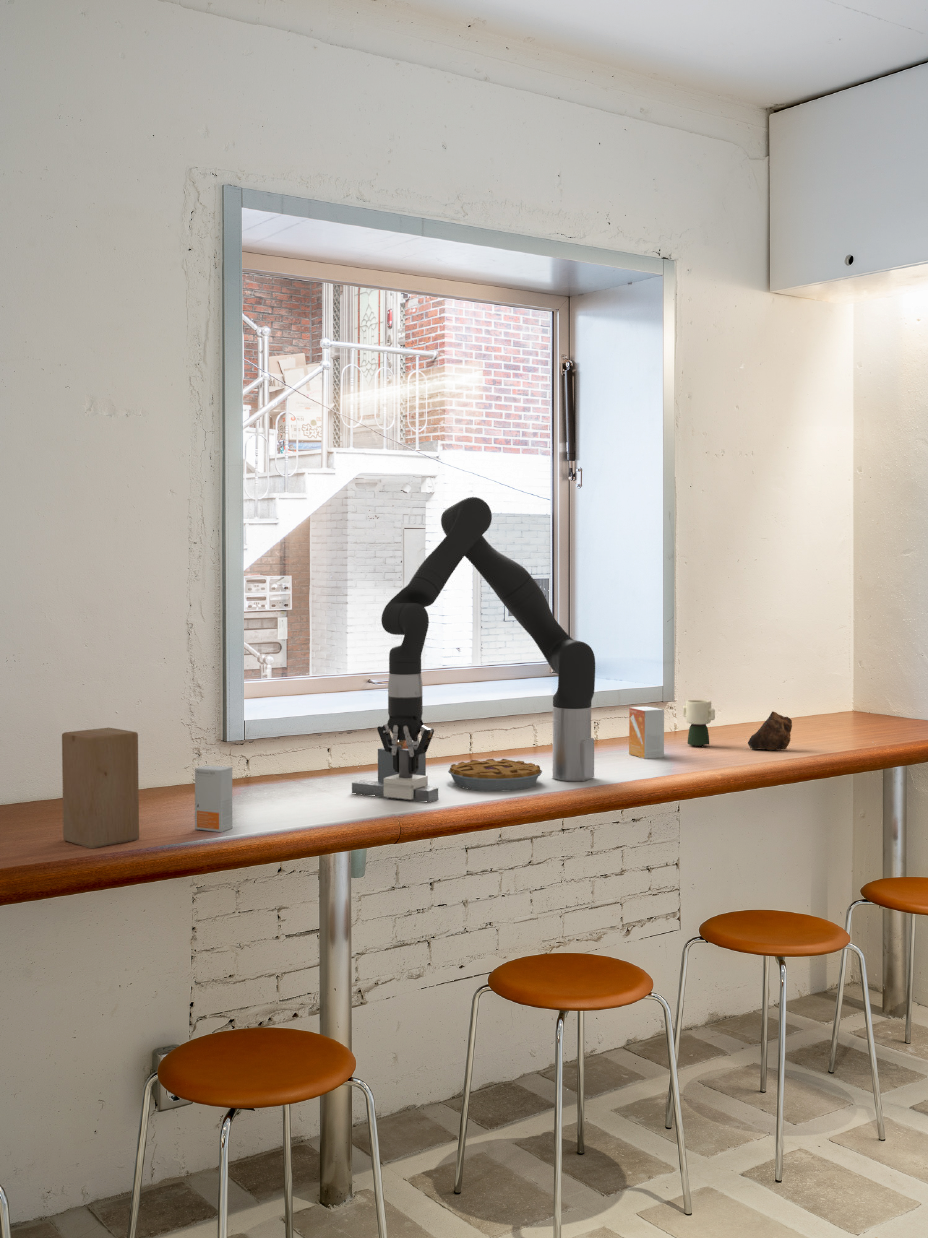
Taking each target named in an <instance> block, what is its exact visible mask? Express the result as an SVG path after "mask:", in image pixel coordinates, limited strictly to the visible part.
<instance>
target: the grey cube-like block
mask: <svg viewBox="0 0 928 1238" xmlns="http://www.w3.org/2000/svg"><path fill="white" fill-rule="evenodd" d="M426 756H427V752H426V753H423V754H420V755H419V765H418V766H419V768H418V771H417V772H416V773H414V774H413V775H423V776H427V775H426V774H427V773H426V772H427V771H426V770H427V766H426V765H427V761H426ZM396 774H399V773H397V772H395V770H394V769H393V755H392V753H390V752H386V751H385V749H384V747H379V748H377V782H384V778H386V777H389V776H393V775H396Z"/></svg>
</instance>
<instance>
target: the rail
mask: <svg viewBox="0 0 928 1238" xmlns="http://www.w3.org/2000/svg"><path fill="white" fill-rule="evenodd" d="M352 793H356V794H355V795H357V794H362V795H361V796H366V795H375V796H379V797H378V798H384V797H385V796H384V782H378V781H377V780H376V781H375V780H367V779H362V780H356V781H354V782H351V794H352ZM375 796H374V797H375ZM392 798H394V797H388V798H387V799H392ZM401 799H403V798H399V799H398V800H401ZM437 799H438V800H439V787H432V786H428V787H424V786H423V787H420V788H416V789H413V799H406V800H405V801H410V800H415V801H414V802H419V801H427V802H426V803H428V802H429V803H431V802H430V801H432V802H434V801H433V800H435V801H437Z"/></svg>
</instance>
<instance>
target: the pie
mask: <svg viewBox="0 0 928 1238" xmlns="http://www.w3.org/2000/svg"><path fill="white" fill-rule="evenodd" d="M447 772H448V774H450V775H451V778H452V779H453V782H454V784H455V785H457V786H458V787H459V786H460V788H463V787H464V788H463V789H466V788H468V789H467V790H471V789H473V791H478V790H483V791H482V792H503V791H502V790H510V791H518V790H524V789H525V790H526V789H529V788H533V787H535V786H536V784H537V780H538V778H539V776H541V774H542V773H543V770H542V769H541V766H540V765H538V764H537V765H536V764H535V763H532V762H528V763H527V762H525V761H524V760H517V761H515V760H512V759H506V758H502V759H501V760H495V759H494V758H489V759H486V760H478V759H477V760H476V759H471V760H469V761H467V762H465V761H461V762H458V763H457V764H455V763H454V764H451V765H450V767H449V770H448V771H447Z"/></svg>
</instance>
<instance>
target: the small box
mask: <svg viewBox="0 0 928 1238" xmlns="http://www.w3.org/2000/svg"><path fill="white" fill-rule="evenodd" d="M628 708H629V713H628V714H629V715H628V716H629V717H628V718H629V723H628V724H629V727H628V729H629V730H628V732H629V733H628V738H629V739H628V754H629V755H632V756H634V757H635V756H636V757H638V758H641V759H645V760H646V759H648V758H649V759H659V758H660V759H661V758H664V757H665V709H661V708H657V707H652V706H647V705H646V706H632V707H631V706H630V707H628Z"/></svg>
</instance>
